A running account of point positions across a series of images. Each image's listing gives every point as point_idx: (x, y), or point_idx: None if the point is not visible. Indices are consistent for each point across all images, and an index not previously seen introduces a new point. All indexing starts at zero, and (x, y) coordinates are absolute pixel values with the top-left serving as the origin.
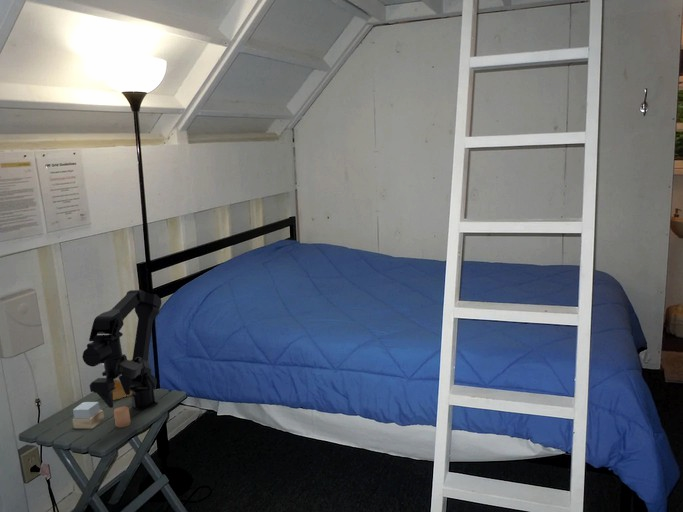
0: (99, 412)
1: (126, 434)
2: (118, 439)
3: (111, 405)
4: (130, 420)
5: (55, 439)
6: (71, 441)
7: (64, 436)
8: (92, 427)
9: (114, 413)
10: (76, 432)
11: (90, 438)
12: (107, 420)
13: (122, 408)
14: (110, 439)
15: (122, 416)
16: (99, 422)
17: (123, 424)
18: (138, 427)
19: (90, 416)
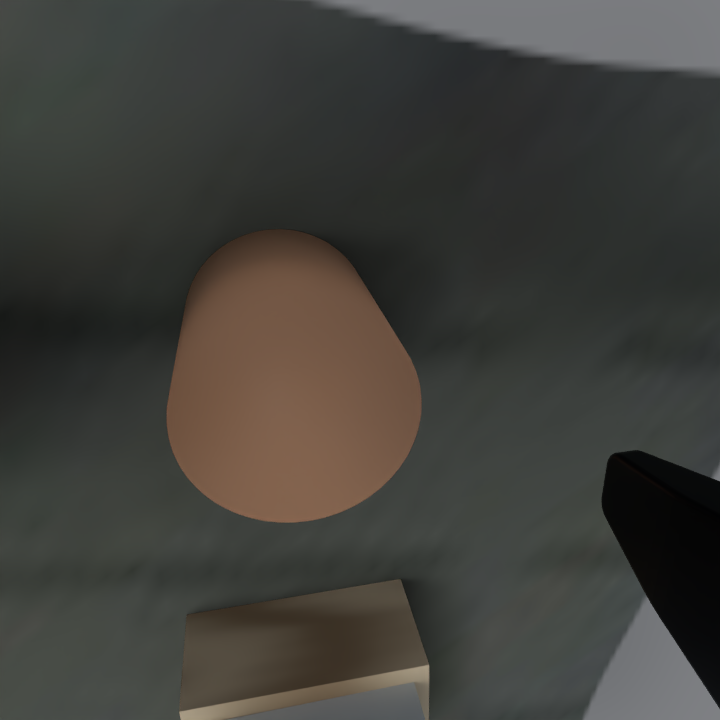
0: (254, 695)
1: (552, 82)
2: (668, 113)
3: (690, 480)
4: (221, 253)
5: (585, 708)
6: None
7: (542, 685)
8: (399, 585)
9: (400, 446)
10: (477, 651)
11: (602, 455)
12: (217, 559)
13: (257, 419)
14: (653, 222)
15: (377, 308)
16: (278, 601)
17: (356, 271)
18: (357, 15)
19: (404, 700)
